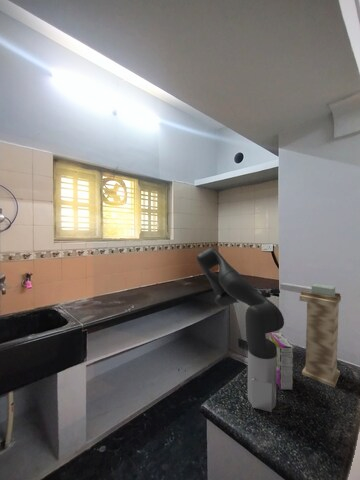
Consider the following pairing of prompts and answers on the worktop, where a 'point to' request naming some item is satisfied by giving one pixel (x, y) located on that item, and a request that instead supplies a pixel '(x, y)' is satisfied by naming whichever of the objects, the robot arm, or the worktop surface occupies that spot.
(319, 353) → the shelf stand
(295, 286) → the handle block
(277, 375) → the candy bar box
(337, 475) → the worktop surface
